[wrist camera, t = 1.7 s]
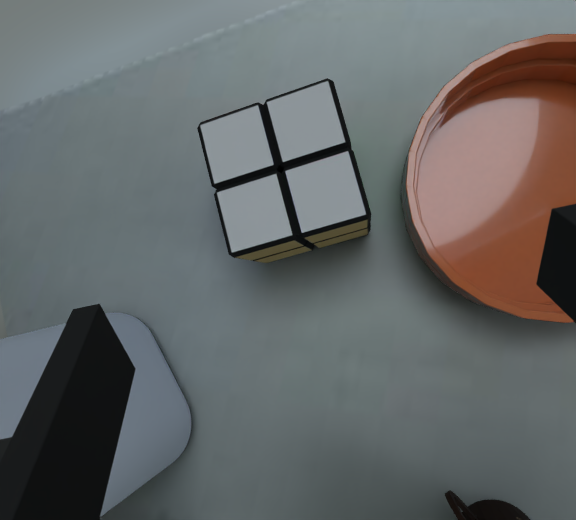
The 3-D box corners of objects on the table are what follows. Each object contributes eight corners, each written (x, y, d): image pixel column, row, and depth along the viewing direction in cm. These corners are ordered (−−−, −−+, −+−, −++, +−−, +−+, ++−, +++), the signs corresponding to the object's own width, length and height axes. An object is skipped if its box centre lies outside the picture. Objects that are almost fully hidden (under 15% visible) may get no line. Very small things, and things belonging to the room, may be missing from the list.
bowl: (590, 27, 34) (632, -20, 29) (720, 251, 32) (792, 245, 26) (362, 141, 37) (361, 117, 32) (465, 353, 35) (483, 367, 29)
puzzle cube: (237, 161, 39) (194, 122, 29) (340, 127, 38) (331, 73, 28) (263, 264, 38) (228, 259, 29) (371, 234, 37) (373, 217, 27)
